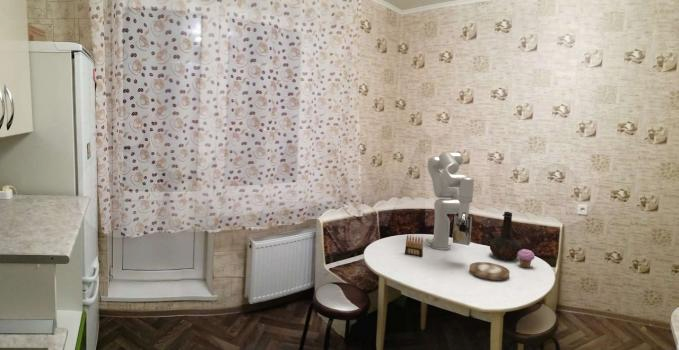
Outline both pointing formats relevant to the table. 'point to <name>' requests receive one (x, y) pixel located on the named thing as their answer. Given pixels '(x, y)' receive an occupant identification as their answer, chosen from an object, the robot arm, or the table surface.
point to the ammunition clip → (414, 247)
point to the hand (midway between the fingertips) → (462, 229)
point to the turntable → (489, 270)
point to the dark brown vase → (505, 241)
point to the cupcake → (525, 257)
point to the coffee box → (462, 236)
